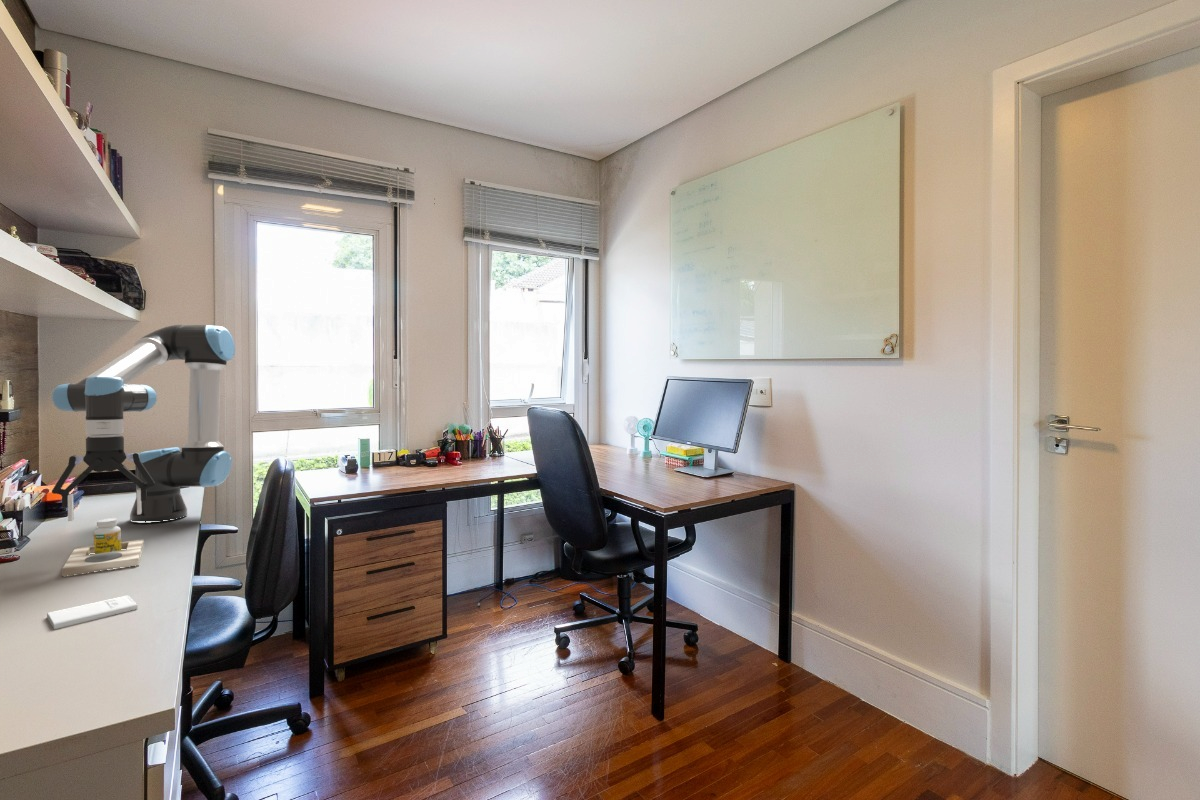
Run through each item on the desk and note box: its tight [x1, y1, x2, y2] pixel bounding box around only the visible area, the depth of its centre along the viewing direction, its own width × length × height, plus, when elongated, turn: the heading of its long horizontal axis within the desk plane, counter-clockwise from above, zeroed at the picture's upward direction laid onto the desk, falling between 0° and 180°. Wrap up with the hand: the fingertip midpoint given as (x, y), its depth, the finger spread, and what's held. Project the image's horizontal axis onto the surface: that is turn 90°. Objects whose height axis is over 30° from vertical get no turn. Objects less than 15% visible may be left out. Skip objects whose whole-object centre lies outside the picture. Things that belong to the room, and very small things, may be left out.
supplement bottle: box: [93, 517, 122, 554], centre depth 150 cm, size 5×5×10 cm
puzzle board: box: [61, 539, 144, 577], centre depth 147 cm, size 20×14×2 cm
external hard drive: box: [46, 594, 138, 630], centre depth 114 cm, size 2×8×12 cm
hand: (106, 516), depth 150 cm, fingers open, 13 cm apart
